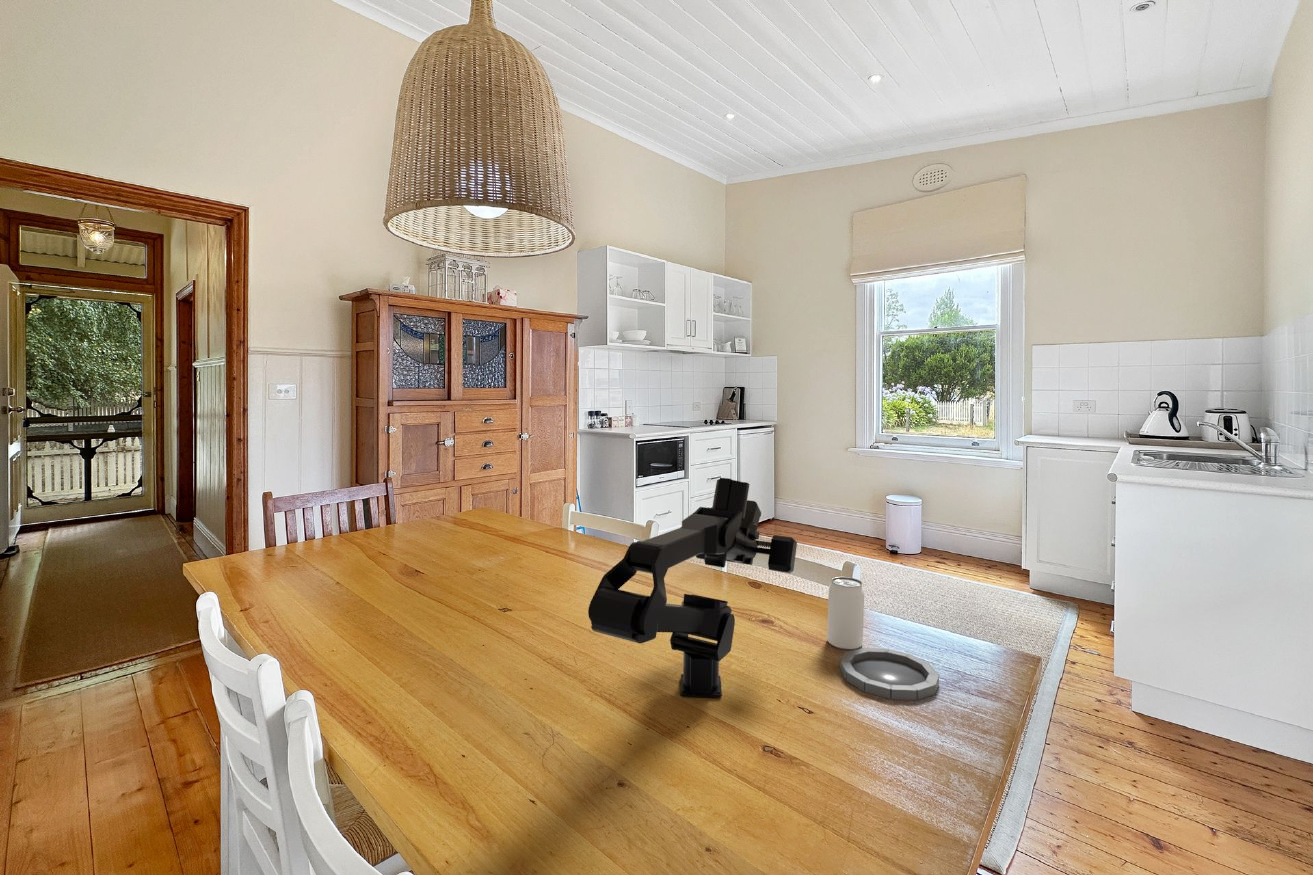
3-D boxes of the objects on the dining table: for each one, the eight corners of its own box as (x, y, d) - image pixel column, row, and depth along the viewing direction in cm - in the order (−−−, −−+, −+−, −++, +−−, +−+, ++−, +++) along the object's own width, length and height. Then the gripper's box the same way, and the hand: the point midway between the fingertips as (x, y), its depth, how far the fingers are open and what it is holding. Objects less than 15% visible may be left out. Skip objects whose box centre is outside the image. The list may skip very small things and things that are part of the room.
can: (835, 633, 118) (837, 574, 117) (867, 642, 114) (869, 580, 113) (821, 644, 113) (823, 582, 112) (854, 653, 109) (857, 589, 108)
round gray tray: (953, 701, 93) (953, 691, 93) (854, 697, 94) (855, 688, 94) (917, 657, 108) (917, 649, 108) (832, 655, 109) (832, 646, 108)
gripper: (788, 502, 102) (811, 519, 115) (689, 492, 111) (721, 509, 124) (779, 568, 99) (803, 578, 112) (679, 552, 108) (712, 563, 121)
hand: (758, 554), depth 117 cm, fingers open, 9 cm apart
